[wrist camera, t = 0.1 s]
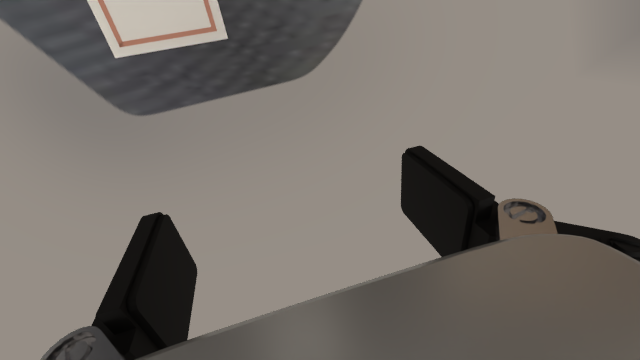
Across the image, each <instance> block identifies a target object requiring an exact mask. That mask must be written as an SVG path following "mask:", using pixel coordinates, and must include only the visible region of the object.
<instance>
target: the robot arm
mask: <svg viewBox="0 0 640 360" xmlns="http://www.w3.org/2000/svg"><path fill="white" fill-rule="evenodd" d="M401 182H402V183H401V208H402V211H403V212H404V214H405V215H406V216H407V217H408V218H409V220H410V221H411V222H412V223H413V224H414V225H415V226H416V228H417V229H418V230H419V231H420V232H421V233H422V235H423V236H424V237H425V238H426V239H427V240H428V241H429V243H430V244H431V245H432V246H433V247H434V248H435V249H436V251H437V252H438V253H439V254H440V255H441V256H442V257H441V258H438V259H435V260H432V261H428V262H425V263H422V264H419V265H416V266H413V267H409V268H406V269H404V270H400V271H397V272H394V273H391V274H387V275H384V276H381V277H378V278H375V279H372V280H369V281H366V282H363V283H359V284H356V285H353V286H350V287H347V288H344V289H341V290H338V291H335V292H332V293H328V294H326V295H323V296H319V297H316V298H313V299H310V300H307V301H304V302H301V303H298V304H295V305H292V306H289V307H286V308H283V309H280V310H277V311H273V312H271V313H267V314H265V315H261V316H259V317H255V318H252V319H249V320H246V321H243V322H240V323H238V324H234V325H231V326H228V327H225V328H222V329H219V330H216V331H213V332H210V333H207V334H205V335H202V336H199V337H196V338H193V339H190V340H187V338H188V331H189V324H190V317H191V311H192V304H193V297H194V291H195V284H196V277H197V268H196V264H195V262H194V260H193V259H192V257H191V255H190V253H189V251H188V249H187V248H186V246H185V244H184V242H183V240H182V238H181V237H180V235H179V233H178V231H177V229H176V228H175V226H174V224H173V222H172V220H171V218H170V217H169V215H167V214H166V215H163V214H162V213H161V212H158V213H154V214H150V215H147V216H143V217H142V218H141V220H140V222H139V224H138V226H137V229H136V230H135V233H134V235H133V237H132V239H131V241H130V243H129V245H128V248H127V250H126V252H125V254H124V256H123V258H122V260H121V262H120V264H119V267H118V269H117V271H116V273H115V275H114V277H113V279H112V281H111V284H110V286H109V288H108V290H107V292H106V294H105V296H104V298H103V300H102V303H101V305H100V307H99V309H98V311H97V313H96V317H95V319H94V322H93V324H92V326H88V327H83V328H80V329H78V330H76V331H73V332H71V333H70V334H68V335H66V336H65V337H63V338H62V339H60V340H59V341H58V342H57V343H56V344H54V345H53V346H52V347H51V348H50V349H49V350H48V351H47V352H46V354H45V355H44V356H43V357H42V358H41V360H640V239H638V238H635V237H633V236H629V235H625V234H621V233H616V232H610V231H605V230H600V229H595V228H589V227H584V226H579V225H573V224H567V223H563V222H557V221H554V220H553V216H552V214H551V213H550V211H548V209H546V208H545V207H544V206H542V205H540V204H538V203H535V202H533V201H530V200H525V199H515V198H514V199H507V200H504V201H502V202H501V203H500V204H498V203H497V202H496V201H494V199H495V196H494V195H492V194H491V193H490V192H488V191H487V190H485V189H484V188H482V187H481V186H479V185H478V184H477V183H475V182H474V181H472V180H471V179H469V178H468V177H466V176H465V175H463V174H462V173H461V172H459V171H458V170H456V169H455V168H453V167H452V166H450V165H448V164H447V163H446V162H444V161H443V160H441V159H440V158H439V157H437V156H436V155H434V154H433V153H431V152H430V151H428V150H427V149H425V148H424V147H422V146H417V147H413V148H408V149H407V150H406V151H405V153H403V155H402V179H401Z"/></svg>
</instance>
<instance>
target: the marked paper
mask: <svg viewBox="0 0 640 360" xmlns="http://www.w3.org/2000/svg"><path fill="white" fill-rule="evenodd" d="M87 1H88V3H89V5H90V7H91V9H92V11H93V13H94V15H95V17H96V20H97V22H98V24H99V26H100V28H101V30H102V32H103V34H104V36H105V38H106V40H107V42H108V44H109V46H110V48H111V50H112V52H113V54H114V56H115V58H119V57H125V56H131V55H137V54H142V53H148V52H154V51H160V50H166V49H171V48H177V47H183V46H189V45H194V44H200V43H206V42H212V41H217V40H223V39H228V37H227V33H226V30H225V26H224V22H223V19H222V15H221V12H220V8H219V5H218V1H217V0H87Z"/></svg>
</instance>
